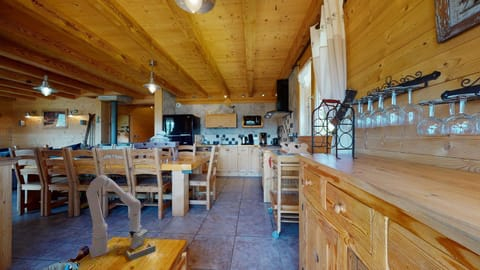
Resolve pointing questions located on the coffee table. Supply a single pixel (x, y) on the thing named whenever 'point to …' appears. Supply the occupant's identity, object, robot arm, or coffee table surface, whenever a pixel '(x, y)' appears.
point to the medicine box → (138, 239)
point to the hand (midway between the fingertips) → (134, 242)
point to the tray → (141, 252)
